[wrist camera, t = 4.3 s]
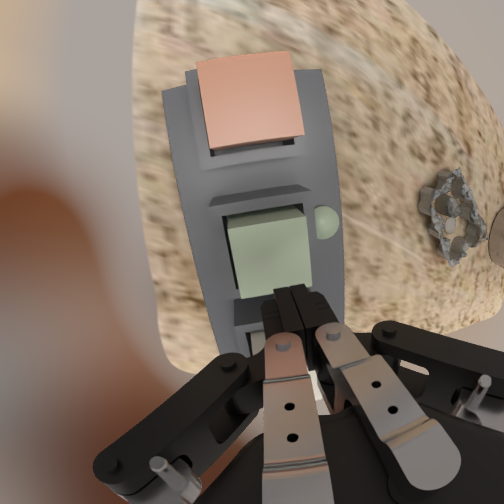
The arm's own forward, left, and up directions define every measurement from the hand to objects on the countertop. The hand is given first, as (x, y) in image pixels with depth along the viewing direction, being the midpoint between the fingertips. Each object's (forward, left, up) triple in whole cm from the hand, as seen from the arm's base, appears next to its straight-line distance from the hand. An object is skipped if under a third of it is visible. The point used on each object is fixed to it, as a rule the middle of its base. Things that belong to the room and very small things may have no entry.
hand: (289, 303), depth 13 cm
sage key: (0, 0, -11) cm, 11 cm away
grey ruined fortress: (-22, +2, -14) cm, 26 cm away
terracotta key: (0, -10, -9) cm, 14 cm away
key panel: (0, 0, -14) cm, 14 cm away
